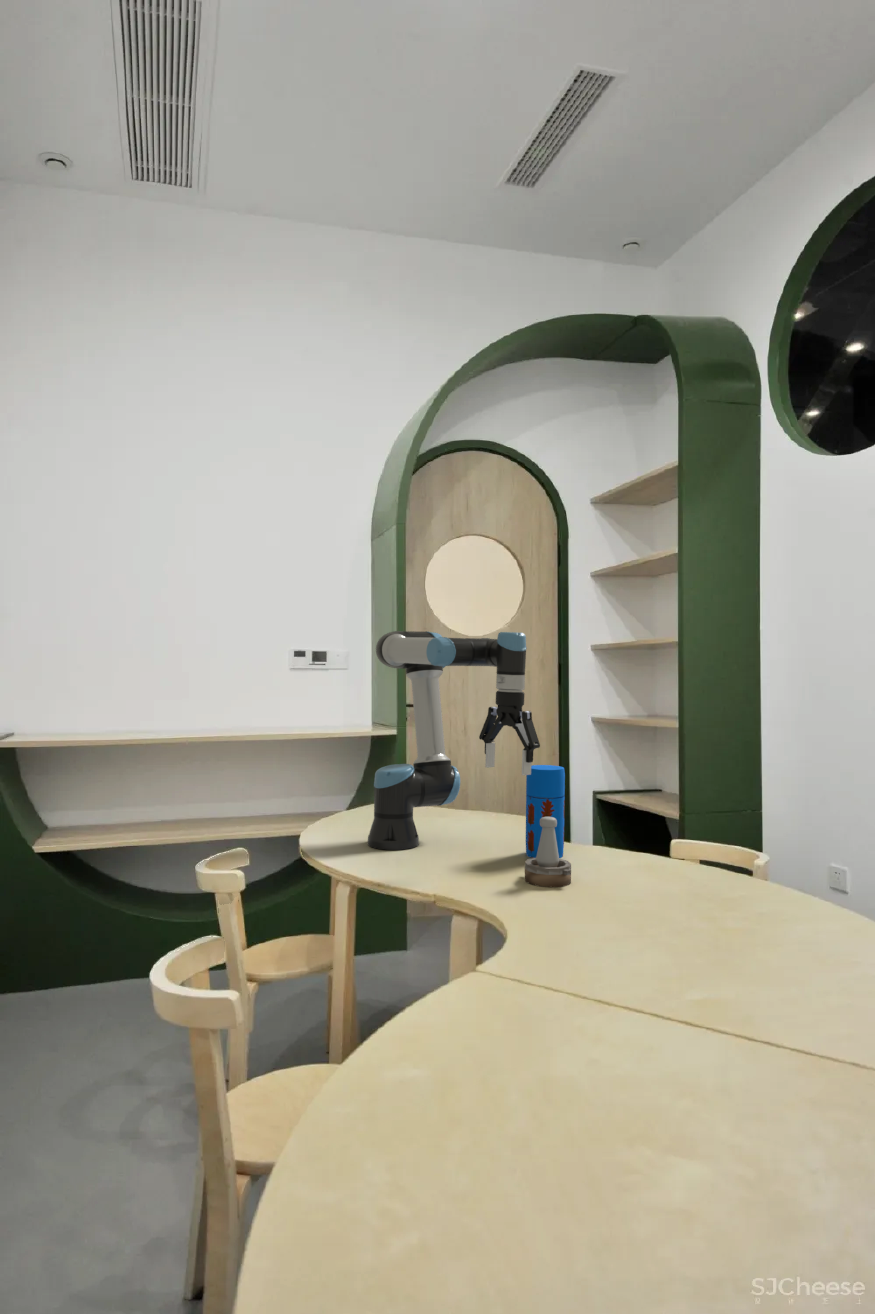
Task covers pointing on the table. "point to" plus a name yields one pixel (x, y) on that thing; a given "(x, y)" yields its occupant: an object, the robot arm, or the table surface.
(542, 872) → the brown bowl with handles
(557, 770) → the thermos
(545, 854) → the salt shaker
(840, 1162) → the table surface
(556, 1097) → the table surface
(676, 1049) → the table surface
